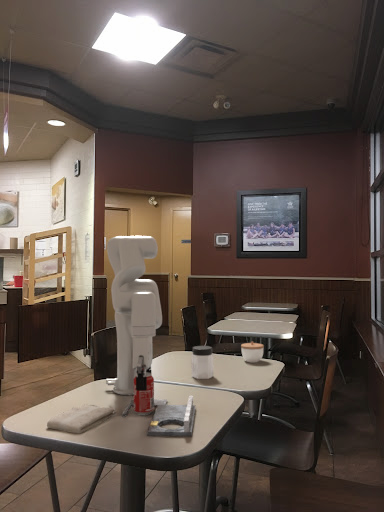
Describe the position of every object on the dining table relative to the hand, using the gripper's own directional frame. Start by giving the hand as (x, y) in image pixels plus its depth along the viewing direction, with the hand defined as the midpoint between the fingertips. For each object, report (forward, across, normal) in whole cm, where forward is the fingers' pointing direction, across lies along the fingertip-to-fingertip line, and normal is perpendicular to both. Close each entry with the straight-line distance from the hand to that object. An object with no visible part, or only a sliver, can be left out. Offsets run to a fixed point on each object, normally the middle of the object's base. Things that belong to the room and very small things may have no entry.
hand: (144, 386), depth 137 cm
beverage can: (+8, -1, 0) cm, 9 cm away
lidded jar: (+7, -76, +40) cm, 86 cm away
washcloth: (+9, +7, -17) cm, 21 cm away
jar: (+8, -46, +17) cm, 49 cm away
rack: (+8, +7, +10) cm, 15 cm away
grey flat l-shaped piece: (+8, -4, 0) cm, 9 cm away
